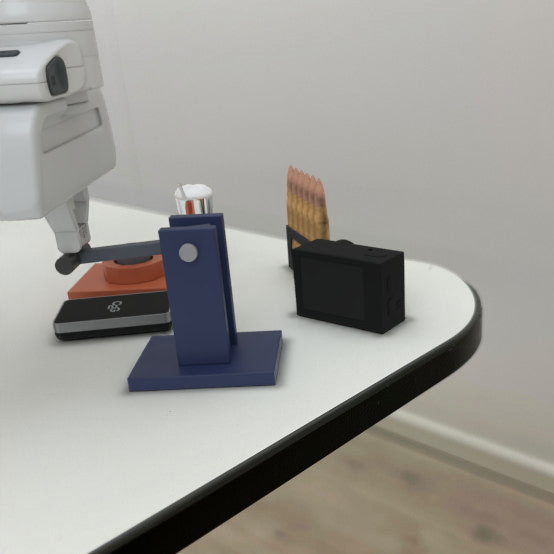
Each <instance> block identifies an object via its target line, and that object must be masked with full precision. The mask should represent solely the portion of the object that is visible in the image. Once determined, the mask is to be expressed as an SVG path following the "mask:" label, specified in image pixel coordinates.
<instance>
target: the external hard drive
mask: <svg viewBox="0 0 554 554" xmlns="http://www.w3.org/2000/svg"><path fill="white" fill-rule="evenodd" d="M172 327H173V326H172V320H171V313H170V307H169V300H168V293H167V291H157V292H146V293H135V294H124V295H113V296H102V297H91V298H80V299H70V300H69V299H66V300H63V302H62V304H61V305H60V306H59V309H58V311H57V313H56V314H55V316H54V319H53V320H52V328H53V332H54V335H55V338H56V339H57V340H60V341H69V340H78V339H87V338H99V337H109V336H119V335H128V334H139V333H140V334H141V333H151V332H159V331H160V332H161V331H168V330H170V329H171V328H172Z"/></svg>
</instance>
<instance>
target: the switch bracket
mask: <svg viewBox="0 0 554 554" xmlns="http://www.w3.org/2000/svg"><path fill="white" fill-rule="evenodd" d="M168 224H169V225H168V226H166V227H160V228H159V229H158V230H157V234H158V240H159V241H160V247H161V254H162V261H163V267H164V274H165V280H166V287H167V293H168V300H169V307H170V313H171V320H172V326H171V327H172V331H173V334H167V335H166V334H165V335H164V334H163V335H151V336H150V338H149V339H148V341H147V343H146V344H145V347H144V349H143V350H142V351H141V354H140V356H139V357H138V359H137V361H136V363H135V364H134V366H133V367H132V370H131V371H130V373H129V374H128V376H127V378H126V379H127V384H128V391H129V392H141V391H143V392H145V391H146V392H147V391H164V390H165V391H166V390H187V389H190V390H191V389H209V388H227V387H228V388H231V387H233V388H234V387H254V386H275V385H276V383H277V376H278V371H279V366H280V360H281V359H280V358H281V354H282V349H283V342H284V340H283V339H284V338H283V331H282V330H281V329H278V330H277V329H275V330H274V329H273V330H253V331H237V322H236V313H235V303H234V295H233V286H232V278H231V269H230V259H229V251H228V244H227V243H228V242H227V234H226V225H225V216H224V213H223V212H213V213H207V214H184V215H179V214H171V215H170V216H169V217H168ZM201 224H211V225H207V226H193V225H201Z"/></svg>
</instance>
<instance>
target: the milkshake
mask: <svg viewBox="0 0 554 554" xmlns="http://www.w3.org/2000/svg"><path fill="white" fill-rule="evenodd" d="M176 183H177V188H176V190H175V192H174V199H175V204H176V207H177V211H178V215H184V214H207V213H214V204H213V203H214V201H213V200H214V198H213V197H214V195H213V194H214V193H213V190H212V188H210V187H209V186H207V185H206V184H203V183H196V184H190V183H187V184H185V185H182V183H181V182H176Z"/></svg>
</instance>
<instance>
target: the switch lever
mask: <svg viewBox="0 0 554 554" xmlns="http://www.w3.org/2000/svg"><path fill="white" fill-rule="evenodd" d="M207 225H211V224H201V225H193V226H207ZM135 242H136V241H135ZM126 243H127V242H126ZM126 243H120V244H111V245H103V246H96V247H95V246H94V247H92V246H91V244H90V242H88V243H87V244H86V245H85V246H84V247H83V248H82V249H81V250H80V251H79V252H77V253H64V254H63V253H62V254H61V256H60V257H58V258H57V259H56V260H55V262H54V268H55V270H56V272H57V273H58V274H60V275H63V276H69V275H71V274H72V273H73V272H74V271H75V270H76V269H77V268H78V267H79V266H80V265H85V264H93V263H94V264H95V263H102V262H103V261H111V260H119V259H128V258H136V257H144V256H153V255H161V247H160V241H159V239H153V240H146V241H145V240H144V241H137V242H136V243H134V242H128V243H127V244H126Z"/></svg>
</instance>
